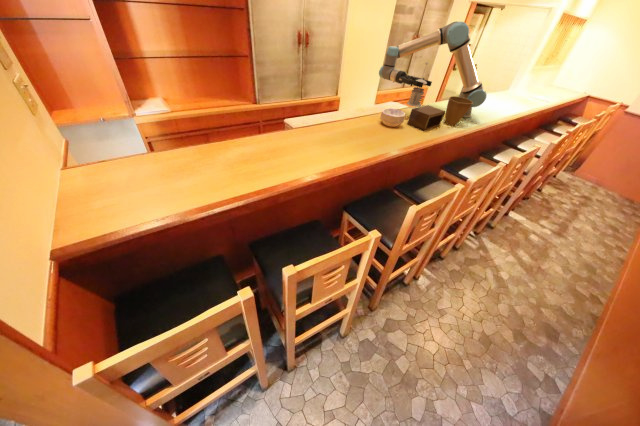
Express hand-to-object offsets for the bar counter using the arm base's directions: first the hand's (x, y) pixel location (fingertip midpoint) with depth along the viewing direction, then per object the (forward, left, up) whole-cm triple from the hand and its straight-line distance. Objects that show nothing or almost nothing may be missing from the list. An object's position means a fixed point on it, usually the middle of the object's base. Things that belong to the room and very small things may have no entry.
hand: (426, 84), depth 154 cm
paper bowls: (+22, -4, -23) cm, 32 cm away
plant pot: (-22, +15, -23) cm, 36 cm away
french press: (0, -5, -14) cm, 14 cm away
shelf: (+1, +8, -23) cm, 24 cm away
